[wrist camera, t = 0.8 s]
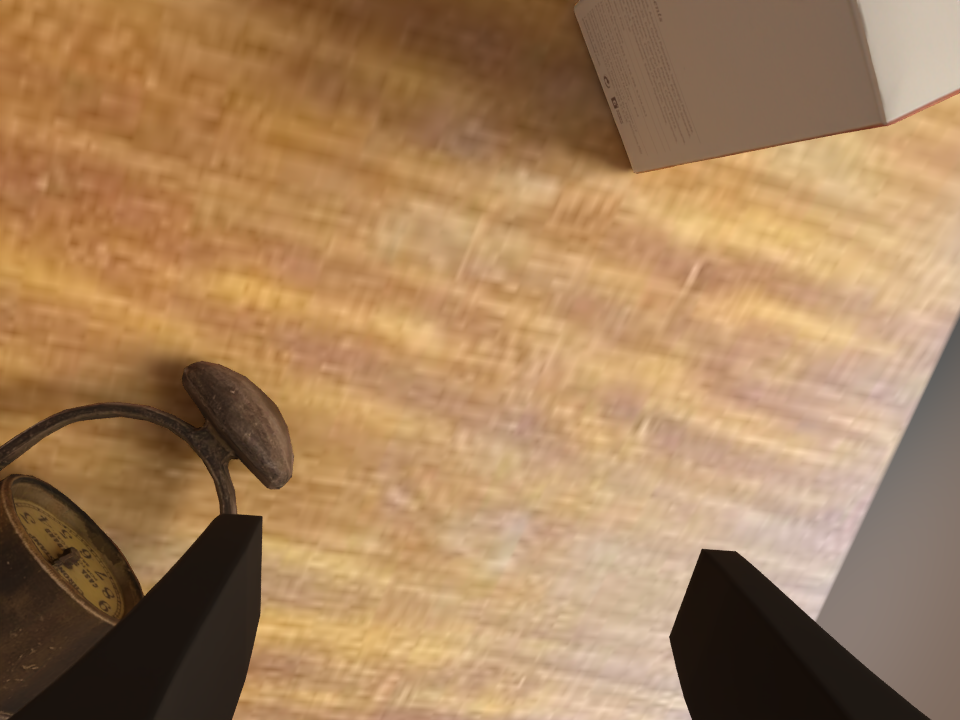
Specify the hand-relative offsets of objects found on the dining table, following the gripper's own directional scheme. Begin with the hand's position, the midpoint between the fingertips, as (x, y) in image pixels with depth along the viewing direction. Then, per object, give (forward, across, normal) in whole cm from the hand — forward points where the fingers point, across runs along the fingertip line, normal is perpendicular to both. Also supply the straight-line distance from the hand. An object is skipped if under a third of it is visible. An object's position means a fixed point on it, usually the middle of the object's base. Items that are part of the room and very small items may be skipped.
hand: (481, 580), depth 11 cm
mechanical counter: (+13, +10, +10) cm, 19 cm away
